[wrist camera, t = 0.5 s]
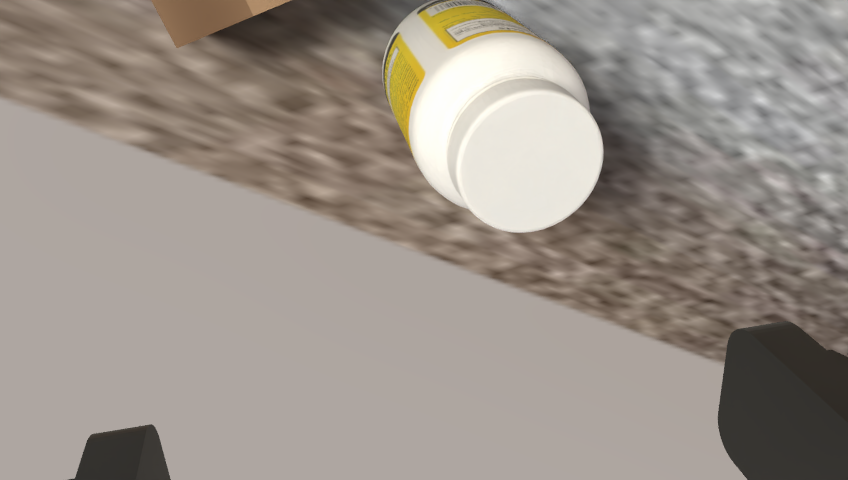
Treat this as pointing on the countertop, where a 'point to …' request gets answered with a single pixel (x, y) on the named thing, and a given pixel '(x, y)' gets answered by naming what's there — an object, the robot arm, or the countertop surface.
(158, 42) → the countertop surface
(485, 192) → the supplement bottle
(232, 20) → the socket block
